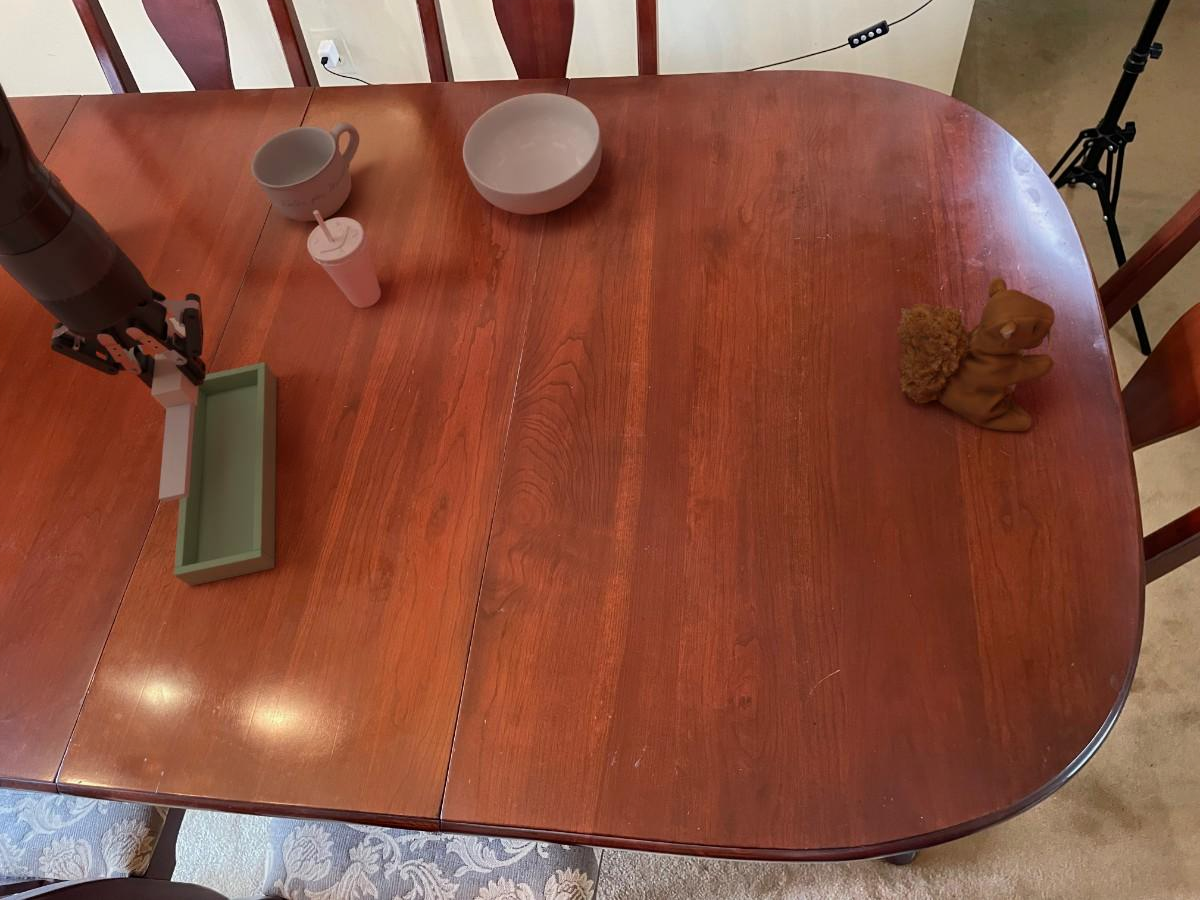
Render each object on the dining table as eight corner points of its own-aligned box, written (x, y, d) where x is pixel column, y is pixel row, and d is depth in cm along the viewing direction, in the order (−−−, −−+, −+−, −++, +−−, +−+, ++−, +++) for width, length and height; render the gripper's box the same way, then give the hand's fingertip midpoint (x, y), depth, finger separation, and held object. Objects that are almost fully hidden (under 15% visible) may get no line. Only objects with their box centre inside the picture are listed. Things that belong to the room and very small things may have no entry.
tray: (274, 568, 84) (260, 556, 81) (189, 586, 84) (173, 575, 81) (276, 376, 96) (264, 361, 93) (202, 392, 96) (188, 377, 93)
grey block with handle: (175, 339, 86) (158, 320, 83) (201, 333, 86) (186, 314, 83) (161, 503, 76) (141, 488, 74) (191, 496, 76) (173, 481, 74)
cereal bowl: (482, 141, 111) (470, 96, 105) (608, 134, 110) (603, 87, 103) (468, 238, 103) (453, 195, 97) (603, 232, 101) (597, 187, 95)
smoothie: (328, 303, 100) (276, 218, 88) (363, 267, 103) (318, 178, 91) (367, 324, 98) (320, 240, 86) (403, 287, 100) (361, 199, 88)
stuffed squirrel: (1034, 435, 82) (1087, 356, 71) (883, 423, 85) (911, 344, 73) (1027, 352, 87) (1076, 265, 76) (884, 342, 89) (910, 256, 78)
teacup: (297, 247, 106) (268, 199, 99) (265, 198, 111) (235, 149, 104) (395, 195, 108) (373, 145, 101) (359, 149, 113) (337, 99, 106)
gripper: (156, 209, 70) (254, 336, 85) (-10, 246, 70) (117, 366, 85) (149, 277, 66) (252, 398, 81) (-27, 316, 66) (109, 429, 81)
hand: (182, 381), depth 83 cm, fingers closed on grey block with handle, 3 cm apart
